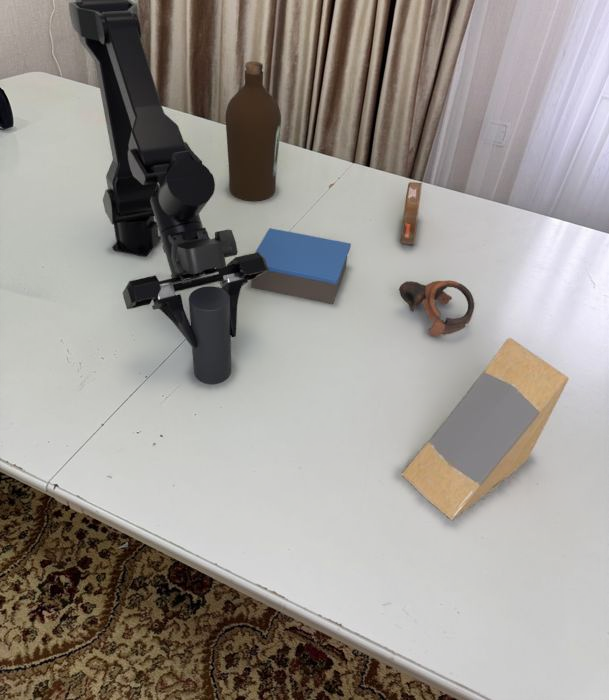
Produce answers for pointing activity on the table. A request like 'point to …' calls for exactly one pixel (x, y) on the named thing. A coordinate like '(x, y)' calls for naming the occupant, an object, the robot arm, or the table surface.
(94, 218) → the table surface
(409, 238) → the tin
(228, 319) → the dark grey cylinder
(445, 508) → the sandwich container
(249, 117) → the olive oil
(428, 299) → the brown ring with knob
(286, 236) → the container
